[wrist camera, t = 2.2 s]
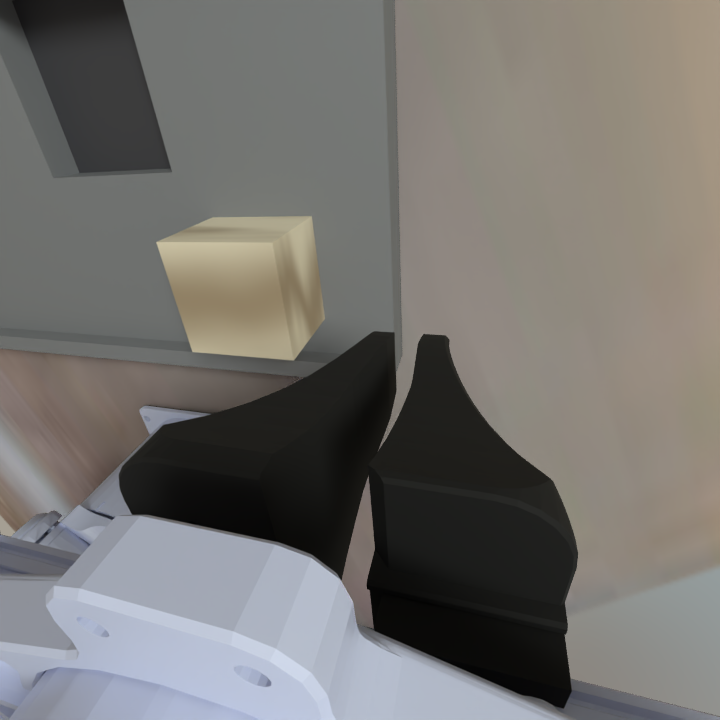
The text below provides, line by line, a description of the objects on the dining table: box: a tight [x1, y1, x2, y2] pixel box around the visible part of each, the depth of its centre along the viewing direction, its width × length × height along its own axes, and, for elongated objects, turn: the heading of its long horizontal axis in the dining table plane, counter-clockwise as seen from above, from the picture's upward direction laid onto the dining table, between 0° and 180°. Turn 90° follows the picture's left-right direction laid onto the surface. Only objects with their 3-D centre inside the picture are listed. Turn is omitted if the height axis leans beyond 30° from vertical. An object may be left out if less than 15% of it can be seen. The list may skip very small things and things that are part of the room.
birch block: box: [156, 216, 325, 360], centre depth 18 cm, size 5×5×4 cm
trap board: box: [0, 0, 402, 377], centre depth 22 cm, size 18×36×4 cm, turn 94°
